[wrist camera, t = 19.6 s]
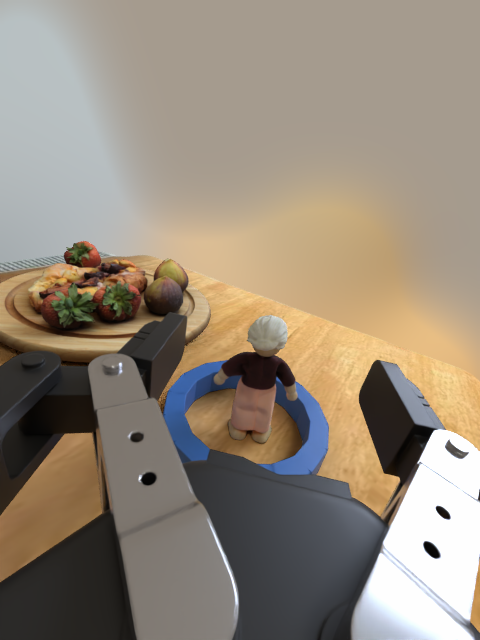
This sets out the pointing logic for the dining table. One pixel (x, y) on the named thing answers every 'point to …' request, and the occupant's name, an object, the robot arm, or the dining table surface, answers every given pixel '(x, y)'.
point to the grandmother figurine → (258, 379)
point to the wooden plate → (94, 305)
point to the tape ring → (202, 382)
